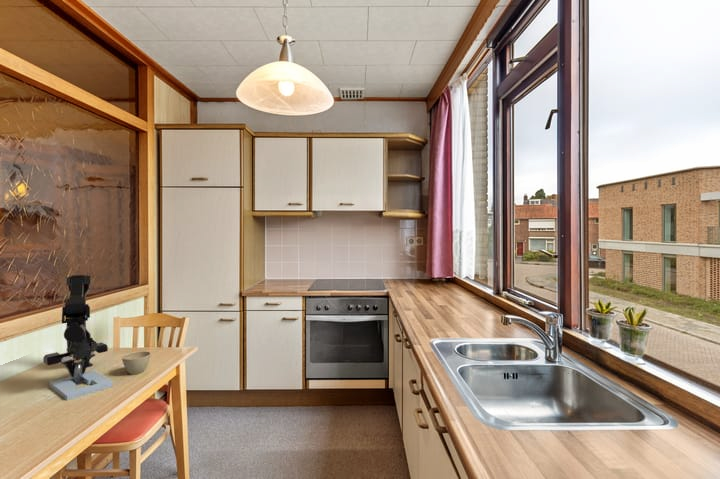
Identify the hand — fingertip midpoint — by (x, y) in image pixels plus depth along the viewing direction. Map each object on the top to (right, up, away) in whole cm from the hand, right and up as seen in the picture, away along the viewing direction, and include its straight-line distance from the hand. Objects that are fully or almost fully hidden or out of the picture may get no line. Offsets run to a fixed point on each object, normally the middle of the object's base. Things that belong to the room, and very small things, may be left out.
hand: (77, 375), depth 137 cm
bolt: (0, -3, 0) cm, 3 cm away
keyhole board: (+3, -3, -2) cm, 5 cm away
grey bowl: (+16, -3, +11) cm, 20 cm away
